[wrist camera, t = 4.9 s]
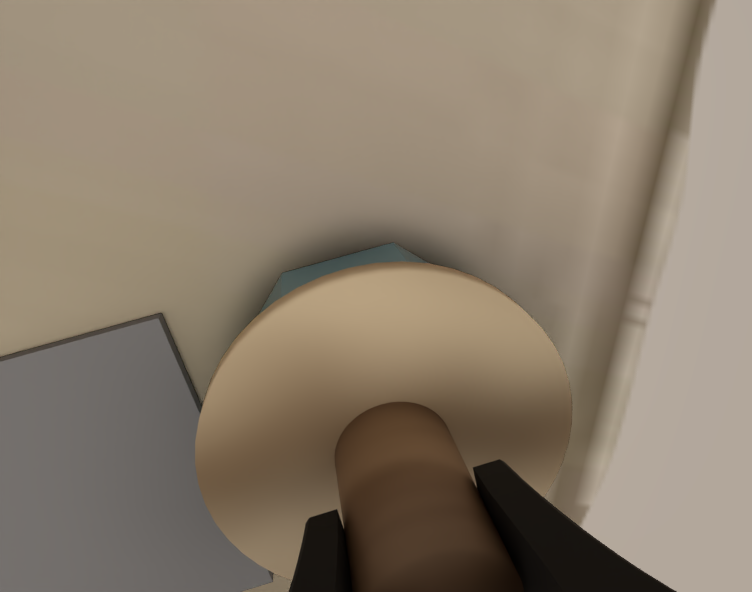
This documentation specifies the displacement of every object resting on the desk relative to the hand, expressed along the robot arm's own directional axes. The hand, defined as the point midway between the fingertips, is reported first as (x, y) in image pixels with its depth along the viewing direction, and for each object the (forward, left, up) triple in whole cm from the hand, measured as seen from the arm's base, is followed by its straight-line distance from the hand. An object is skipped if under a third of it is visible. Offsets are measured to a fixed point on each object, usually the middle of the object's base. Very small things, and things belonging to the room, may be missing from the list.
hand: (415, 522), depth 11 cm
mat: (-1, +11, -7) cm, 13 cm away
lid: (0, 0, -3) cm, 3 cm away
